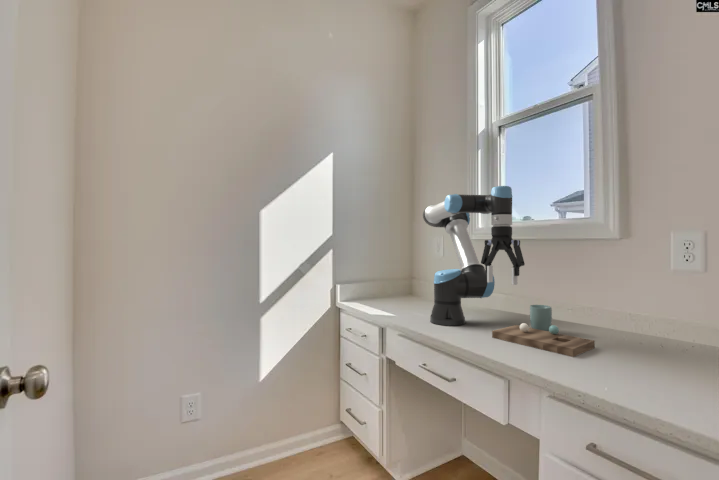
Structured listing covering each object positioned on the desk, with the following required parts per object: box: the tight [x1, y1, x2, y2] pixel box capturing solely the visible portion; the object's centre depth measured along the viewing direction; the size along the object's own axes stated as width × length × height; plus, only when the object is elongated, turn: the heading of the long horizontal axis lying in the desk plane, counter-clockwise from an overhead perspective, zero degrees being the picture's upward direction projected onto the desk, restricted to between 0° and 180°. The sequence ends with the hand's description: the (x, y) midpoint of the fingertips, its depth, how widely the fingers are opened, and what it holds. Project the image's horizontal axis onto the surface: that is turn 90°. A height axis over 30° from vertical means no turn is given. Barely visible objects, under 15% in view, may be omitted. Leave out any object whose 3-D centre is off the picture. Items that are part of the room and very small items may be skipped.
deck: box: [491, 324, 596, 358], centre depth 125 cm, size 28×16×2 cm, turn 36°
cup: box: [529, 304, 553, 332], centre depth 141 cm, size 8×8×10 cm
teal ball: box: [549, 324, 560, 334], centre depth 126 cm, size 3×3×3 cm
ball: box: [519, 322, 530, 332], centre depth 130 cm, size 3×3×3 cm
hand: (501, 283), depth 137 cm, fingers open, 10 cm apart
